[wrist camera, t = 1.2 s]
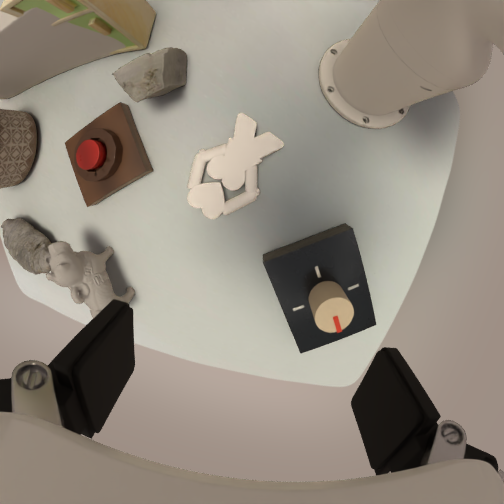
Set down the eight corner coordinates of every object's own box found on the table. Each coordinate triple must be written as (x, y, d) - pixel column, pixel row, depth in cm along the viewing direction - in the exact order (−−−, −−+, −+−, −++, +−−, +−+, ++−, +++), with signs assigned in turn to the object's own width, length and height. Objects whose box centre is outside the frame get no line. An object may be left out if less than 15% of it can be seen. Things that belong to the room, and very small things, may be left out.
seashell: (6, 202, 30) (-18, 230, 24) (68, 229, 36) (51, 261, 30) (5, 232, 33) (-15, 261, 27) (63, 257, 39) (49, 290, 33)
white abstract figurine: (172, 189, 31) (167, 189, 29) (232, 110, 30) (232, 105, 28) (230, 232, 33) (229, 235, 31) (291, 153, 31) (295, 151, 29)
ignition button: (101, 134, 27) (93, 133, 25) (110, 160, 28) (102, 160, 26) (80, 149, 27) (72, 149, 25) (89, 174, 28) (81, 175, 26)
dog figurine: (99, 220, 33) (51, 239, 23) (142, 299, 37) (108, 340, 26) (76, 236, 34) (29, 258, 24) (117, 310, 37) (82, 349, 27)
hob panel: (262, 254, 34) (262, 263, 31) (345, 223, 32) (353, 228, 29) (298, 341, 38) (300, 354, 35) (369, 314, 36) (376, 325, 33)
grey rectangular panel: (139, 10, 24) (78, -53, 7) (132, 49, 26) (55, -7, 9) (14, 65, 25) (-51, 52, 8) (7, 100, 27) (-63, 96, 10)
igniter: (128, 105, 29) (113, 99, 25) (153, 170, 31) (140, 171, 28) (73, 143, 30) (56, 142, 26) (95, 204, 33) (79, 209, 29)
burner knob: (303, 288, 32) (310, 307, 27) (338, 275, 31) (349, 292, 27) (314, 317, 33) (321, 339, 28) (346, 305, 32) (358, 325, 28)
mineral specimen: (123, 82, 27) (103, 54, 19) (183, 54, 28) (178, 20, 20) (140, 125, 29) (121, 103, 21) (204, 95, 29) (203, 65, 21)
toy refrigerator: (97, 62, 26) (-6, 16, 6) (109, 22, 24) (25, -37, 4) (145, 54, 26) (50, -20, 6) (157, 13, 24) (85, -71, 4)
